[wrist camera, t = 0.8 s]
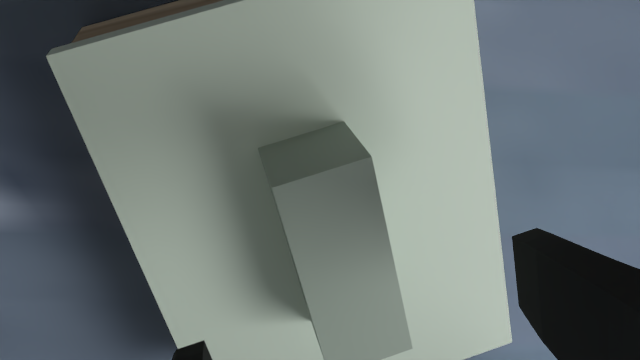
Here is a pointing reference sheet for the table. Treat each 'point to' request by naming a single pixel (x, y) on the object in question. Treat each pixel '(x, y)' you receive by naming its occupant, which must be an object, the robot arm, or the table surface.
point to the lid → (302, 175)
